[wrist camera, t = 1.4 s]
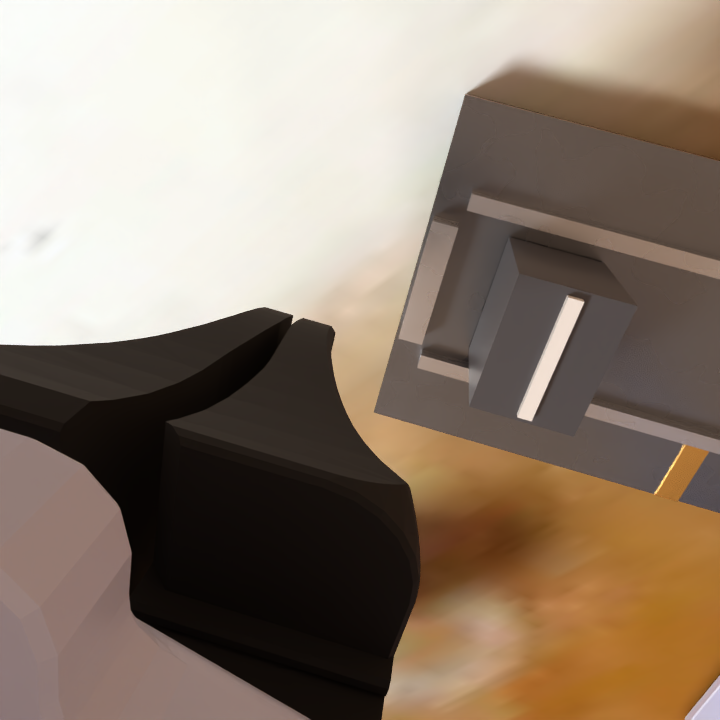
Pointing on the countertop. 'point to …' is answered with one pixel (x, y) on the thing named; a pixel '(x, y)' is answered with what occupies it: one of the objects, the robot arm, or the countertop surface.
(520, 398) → the fader tab
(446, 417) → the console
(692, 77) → the countertop surface
